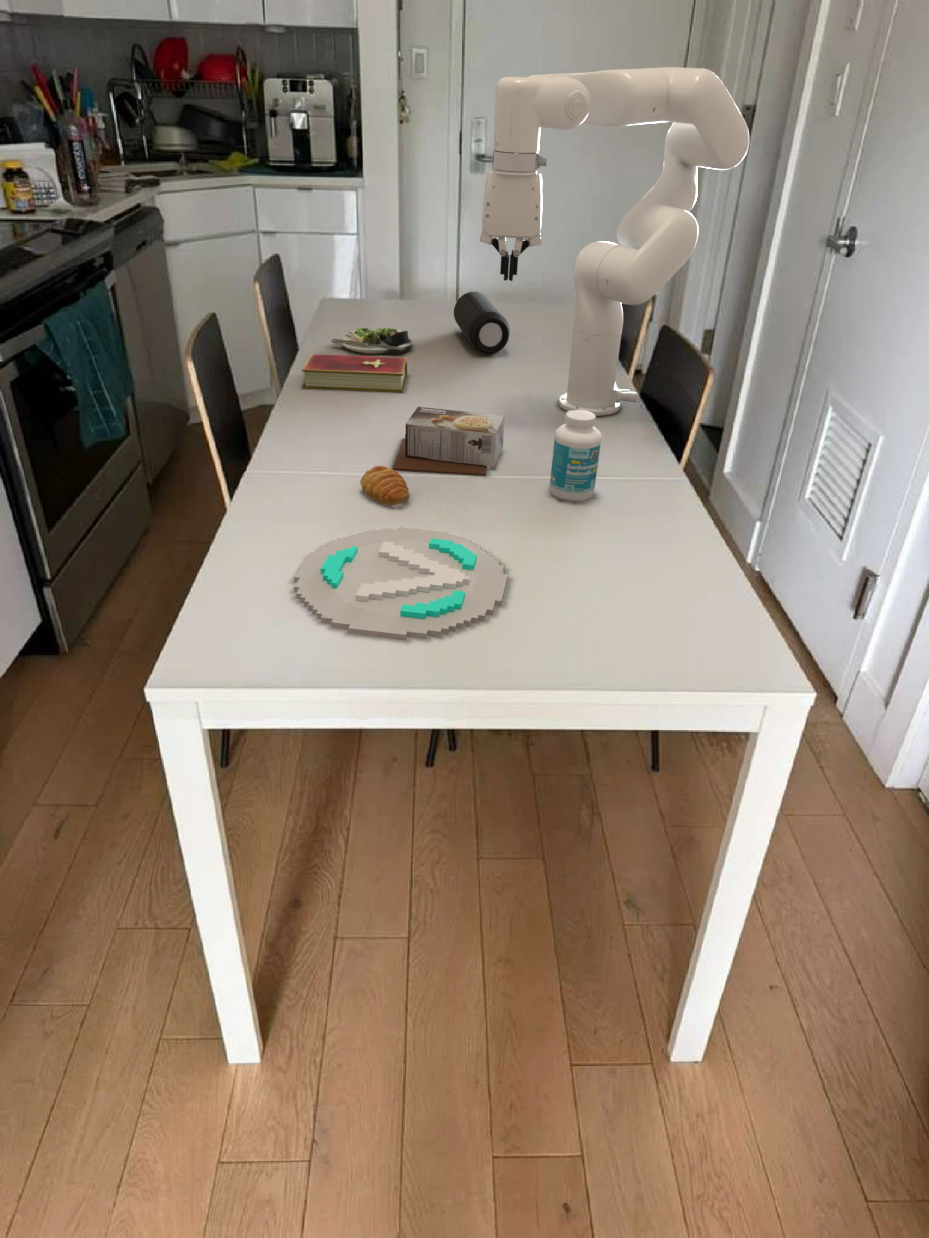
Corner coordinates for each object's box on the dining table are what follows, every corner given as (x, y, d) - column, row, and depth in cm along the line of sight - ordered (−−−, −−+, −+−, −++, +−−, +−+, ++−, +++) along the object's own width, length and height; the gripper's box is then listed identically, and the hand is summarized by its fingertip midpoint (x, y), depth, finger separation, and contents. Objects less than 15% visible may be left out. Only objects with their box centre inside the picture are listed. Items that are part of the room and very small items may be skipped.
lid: (489, 650, 107) (490, 639, 106) (267, 623, 110) (266, 612, 109) (516, 544, 130) (516, 534, 129) (332, 524, 133) (331, 515, 132)
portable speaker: (511, 357, 210) (513, 314, 205) (470, 358, 208) (471, 314, 203) (488, 329, 231) (490, 289, 226) (451, 329, 229) (452, 289, 224)
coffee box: (503, 449, 160) (418, 438, 163) (505, 415, 157) (418, 405, 159) (493, 468, 153) (404, 457, 155) (495, 433, 149) (404, 422, 152)
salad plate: (332, 358, 205) (331, 337, 202) (329, 336, 219) (329, 317, 217) (415, 357, 208) (415, 337, 205) (407, 336, 222) (407, 317, 220)
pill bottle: (564, 506, 142) (573, 425, 134) (540, 488, 147) (547, 410, 140) (603, 498, 145) (613, 419, 137) (577, 481, 150) (586, 404, 143)
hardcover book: (312, 371, 196) (311, 352, 194) (407, 375, 196) (407, 356, 194) (303, 388, 186) (301, 368, 183) (402, 392, 186) (402, 372, 184)
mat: (489, 445, 162) (489, 443, 162) (485, 476, 151) (485, 473, 150) (402, 440, 163) (402, 438, 163) (392, 470, 151) (392, 468, 151)
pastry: (420, 503, 140) (420, 481, 138) (382, 512, 137) (381, 490, 135) (392, 482, 147) (392, 460, 145) (356, 490, 144) (355, 468, 142)
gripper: (559, 163, 150) (550, 277, 160) (471, 159, 151) (467, 272, 160) (560, 168, 144) (550, 286, 154) (469, 164, 144) (465, 281, 154)
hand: (508, 279), depth 157 cm, fingers closed
